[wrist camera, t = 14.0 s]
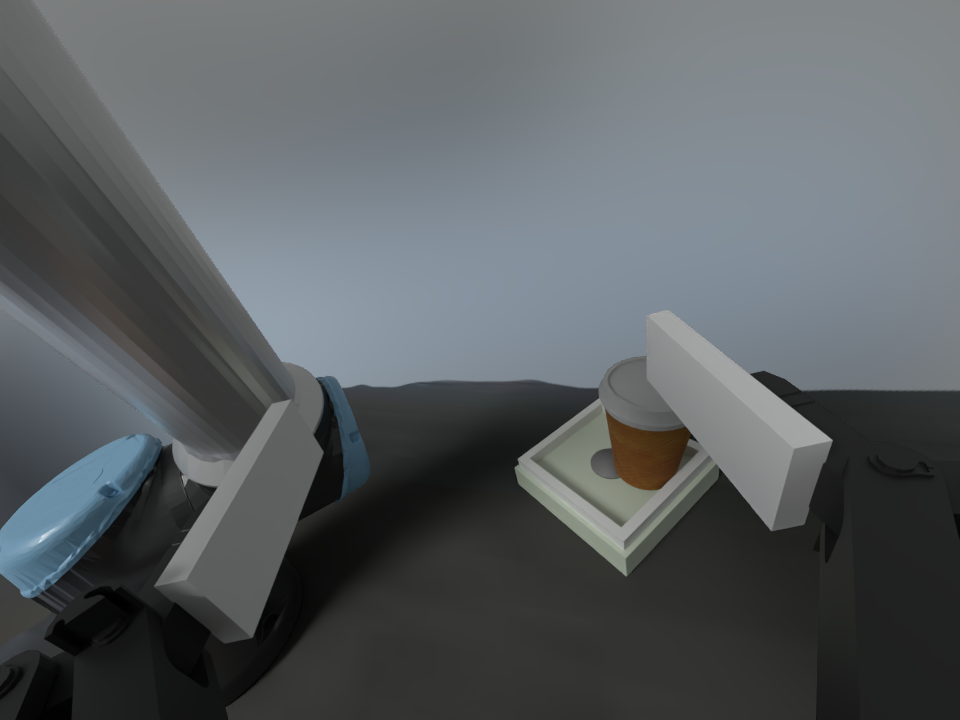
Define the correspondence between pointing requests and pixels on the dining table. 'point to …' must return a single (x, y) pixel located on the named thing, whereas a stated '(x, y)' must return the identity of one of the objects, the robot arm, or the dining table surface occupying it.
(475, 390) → the dining table surface
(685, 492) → the square rimmed tray
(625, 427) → the disposable coffee cup
